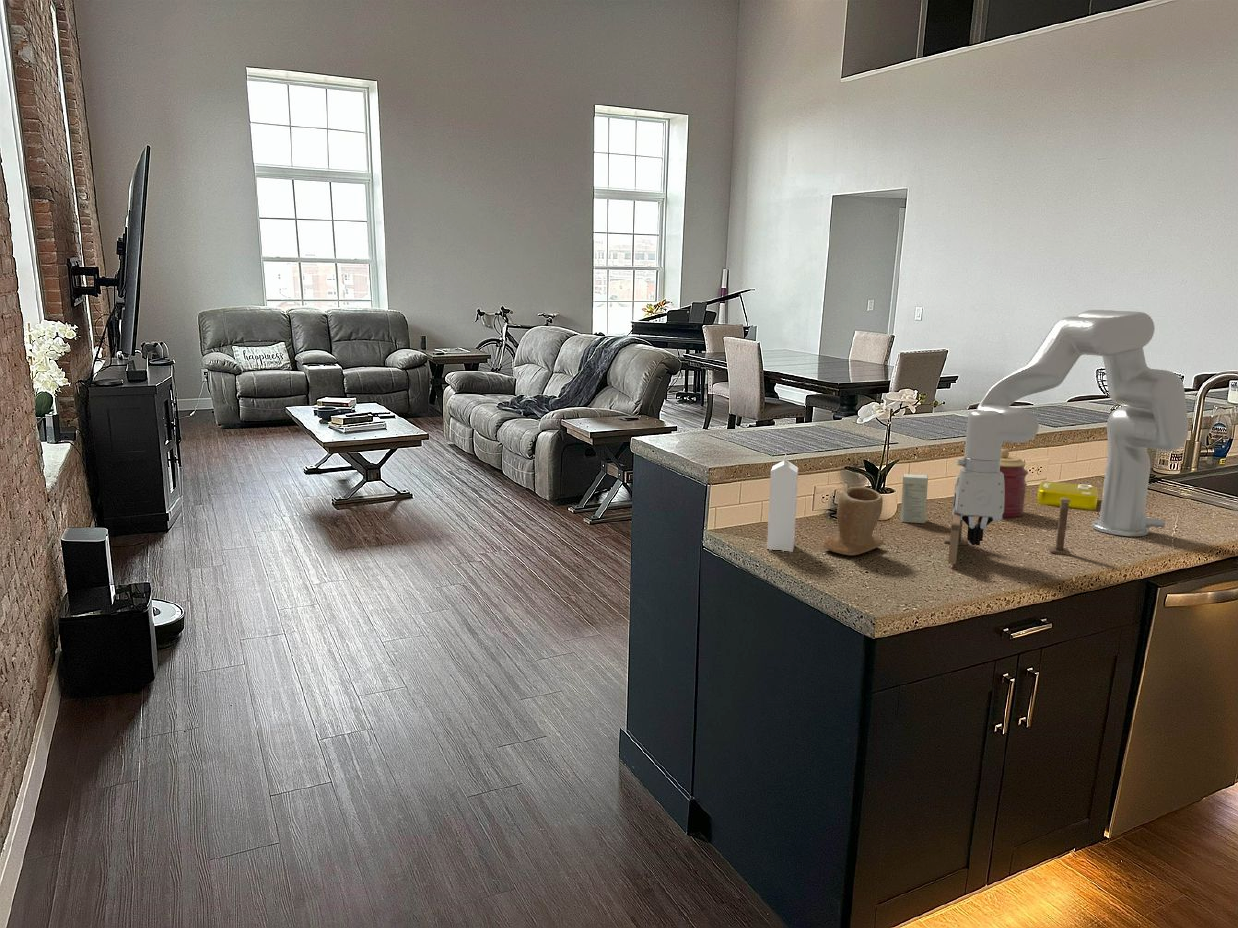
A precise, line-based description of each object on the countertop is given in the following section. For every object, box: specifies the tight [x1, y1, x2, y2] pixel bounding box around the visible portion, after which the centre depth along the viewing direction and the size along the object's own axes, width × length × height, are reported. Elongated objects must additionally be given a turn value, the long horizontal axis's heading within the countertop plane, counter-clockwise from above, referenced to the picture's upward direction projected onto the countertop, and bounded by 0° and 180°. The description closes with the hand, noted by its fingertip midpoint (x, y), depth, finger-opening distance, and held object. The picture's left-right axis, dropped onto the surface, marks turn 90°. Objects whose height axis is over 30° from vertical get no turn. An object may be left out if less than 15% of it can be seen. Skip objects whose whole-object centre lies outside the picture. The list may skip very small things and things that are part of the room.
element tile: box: [1036, 480, 1099, 511], centre depth 245 cm, size 15×15×5 cm
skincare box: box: [900, 473, 929, 524], centre depth 222 cm, size 6×4×12 cm
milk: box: [766, 453, 799, 553], centre depth 197 cm, size 6×6×22 cm
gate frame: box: [943, 484, 1071, 556], centre depth 200 cm, size 27×5×14 cm, turn 71°
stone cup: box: [822, 486, 885, 556], centre depth 196 cm, size 15×12×15 cm
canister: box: [1000, 448, 1029, 518], centre depth 231 cm, size 13×13×18 cm
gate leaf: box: [947, 514, 961, 565], centre depth 193 cm, size 20×2×9 cm, turn 157°
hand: (974, 543), depth 194 cm, fingers closed
